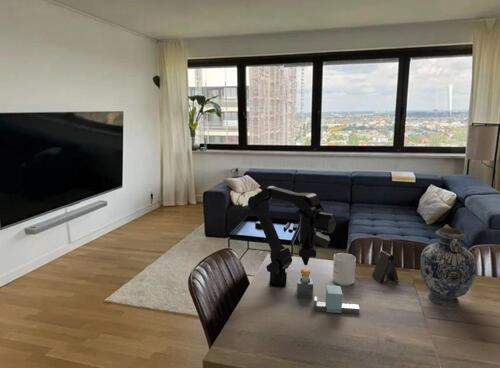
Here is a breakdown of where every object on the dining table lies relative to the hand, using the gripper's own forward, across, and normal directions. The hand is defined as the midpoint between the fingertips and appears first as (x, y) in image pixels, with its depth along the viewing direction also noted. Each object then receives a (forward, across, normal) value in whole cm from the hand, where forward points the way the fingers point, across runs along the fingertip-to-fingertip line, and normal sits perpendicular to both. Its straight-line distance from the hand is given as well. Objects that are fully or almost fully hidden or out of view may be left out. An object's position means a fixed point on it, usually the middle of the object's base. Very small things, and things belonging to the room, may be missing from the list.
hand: (305, 265), depth 138 cm
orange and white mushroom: (+10, 0, 0) cm, 10 cm away
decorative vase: (+12, +4, -53) cm, 55 cm away
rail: (+12, -10, -11) cm, 19 cm away
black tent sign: (+12, +19, -35) cm, 42 cm away
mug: (+13, +14, -16) cm, 25 cm away
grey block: (+12, -10, -10) cm, 19 cm away
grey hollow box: (+12, 0, 0) cm, 12 cm away
